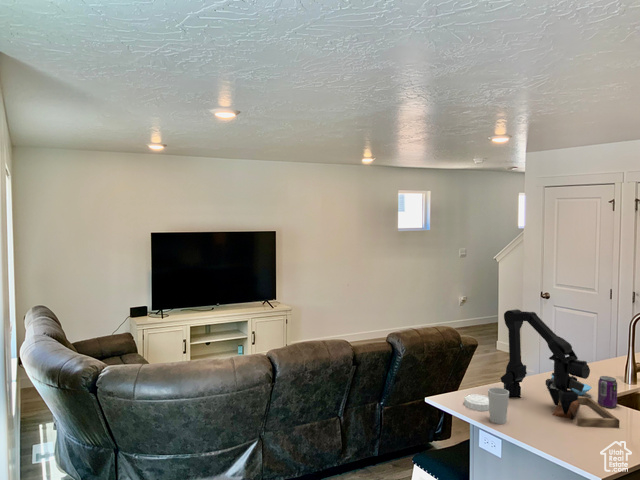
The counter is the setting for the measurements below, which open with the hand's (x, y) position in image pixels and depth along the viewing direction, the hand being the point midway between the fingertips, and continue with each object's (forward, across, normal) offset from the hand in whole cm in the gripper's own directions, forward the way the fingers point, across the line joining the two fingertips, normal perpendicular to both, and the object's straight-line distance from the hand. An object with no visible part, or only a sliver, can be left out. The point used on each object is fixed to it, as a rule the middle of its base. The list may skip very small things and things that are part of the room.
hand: (560, 409), depth 196 cm
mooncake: (+2, +5, +32) cm, 33 cm away
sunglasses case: (+2, +4, -4) cm, 6 cm away
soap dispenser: (+2, +26, -14) cm, 29 cm away
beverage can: (+2, +12, -24) cm, 27 cm away
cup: (+2, -10, +28) cm, 30 cm away
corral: (+2, +1, -9) cm, 9 cm away
